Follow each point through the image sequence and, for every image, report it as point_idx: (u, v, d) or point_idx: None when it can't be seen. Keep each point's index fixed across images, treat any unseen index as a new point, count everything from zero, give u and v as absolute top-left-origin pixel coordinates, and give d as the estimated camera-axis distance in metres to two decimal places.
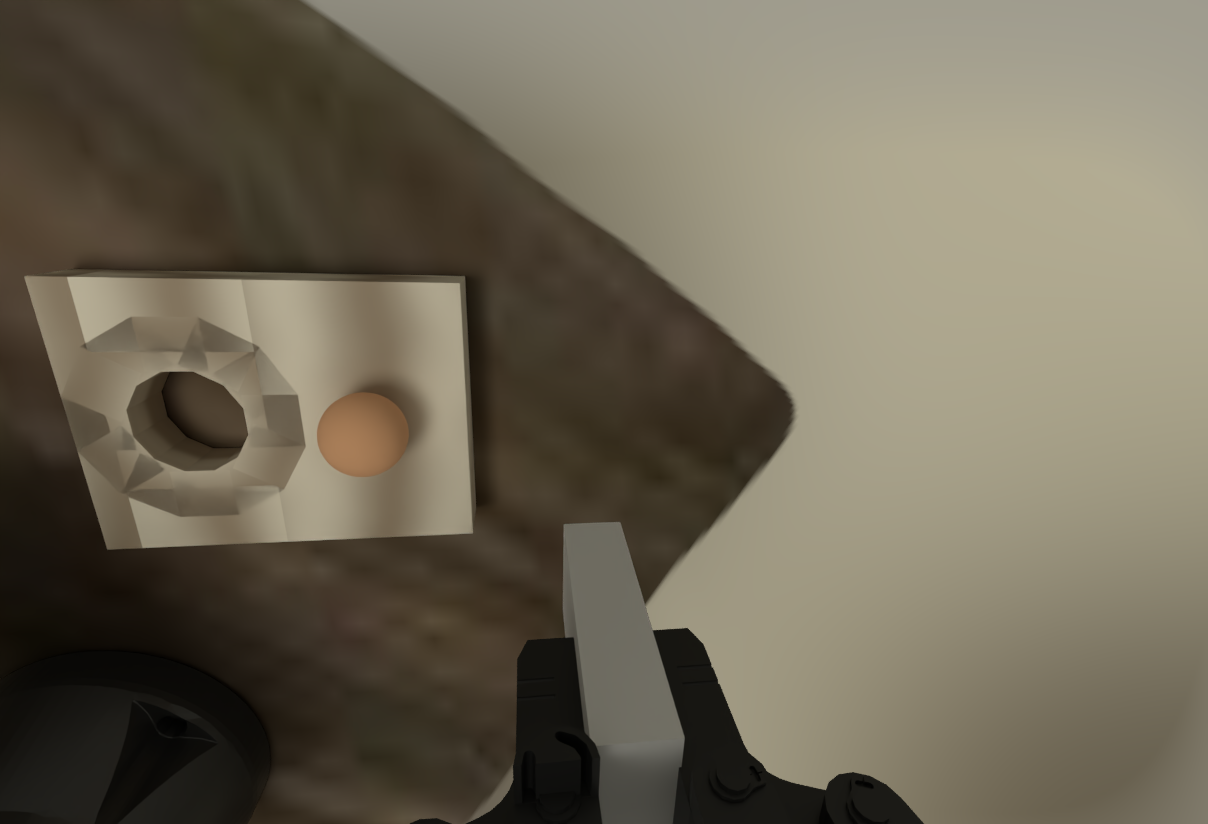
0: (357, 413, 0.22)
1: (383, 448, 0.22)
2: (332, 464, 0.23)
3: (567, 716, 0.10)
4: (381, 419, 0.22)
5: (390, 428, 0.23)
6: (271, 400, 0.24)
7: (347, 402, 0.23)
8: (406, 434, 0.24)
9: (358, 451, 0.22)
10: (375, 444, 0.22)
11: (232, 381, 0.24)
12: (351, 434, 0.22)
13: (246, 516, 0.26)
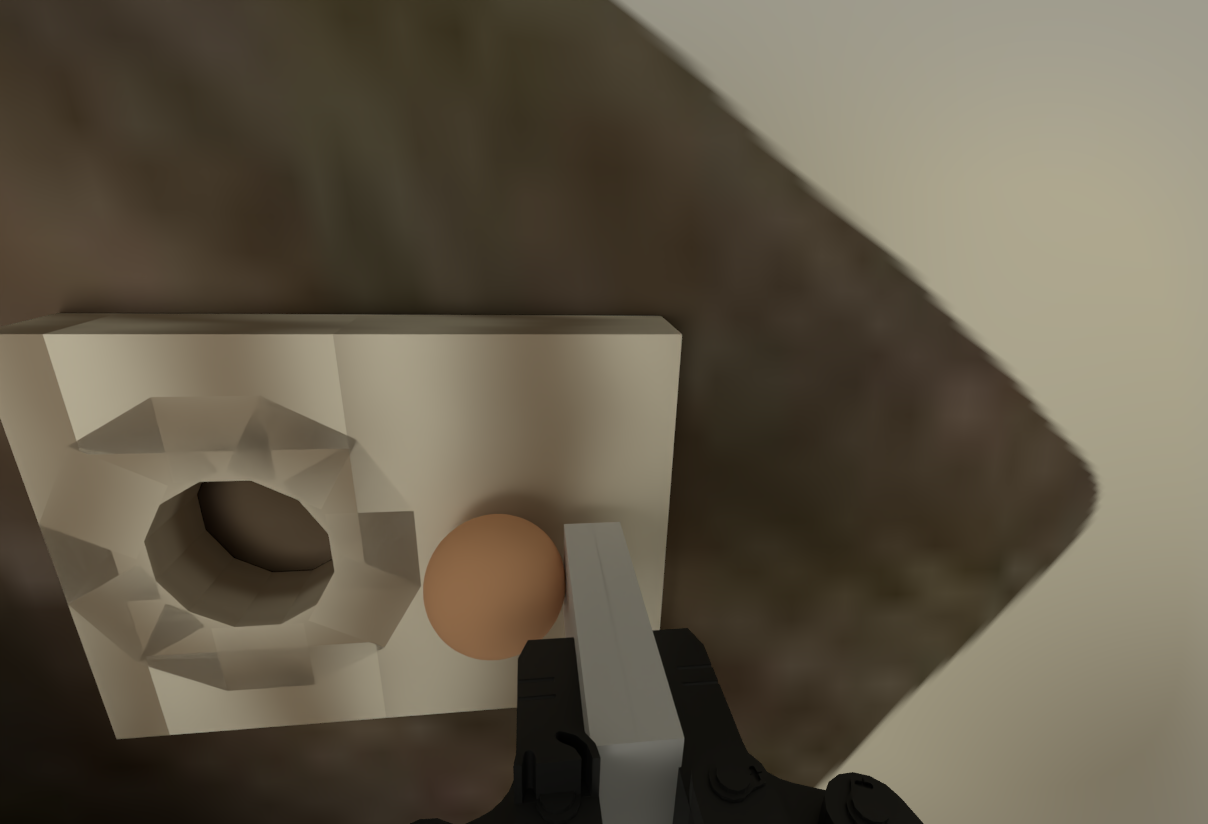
0: (478, 566, 0.13)
1: (510, 632, 0.13)
2: None
3: (567, 715, 0.10)
4: (514, 581, 0.13)
5: (527, 598, 0.13)
6: (373, 521, 0.15)
7: (470, 538, 0.13)
8: (557, 602, 0.14)
9: (468, 632, 0.13)
10: (497, 625, 0.13)
11: (313, 493, 0.15)
12: (462, 602, 0.13)
13: (326, 686, 0.17)
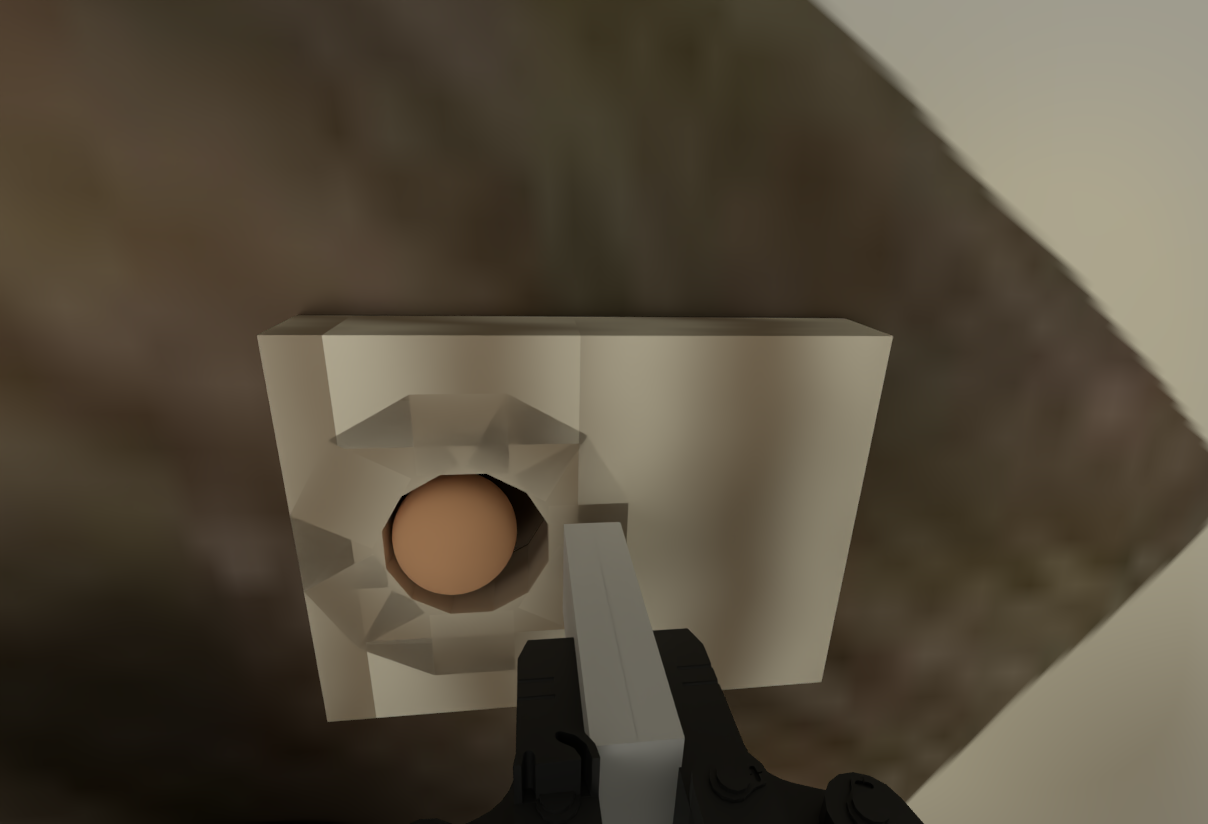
0: (484, 501, 0.16)
1: (515, 534, 0.17)
2: (458, 586, 0.15)
3: (567, 716, 0.10)
4: (503, 498, 0.16)
5: (511, 506, 0.17)
6: (590, 512, 0.16)
7: (454, 493, 0.15)
8: None
9: (502, 550, 0.16)
10: (512, 533, 0.16)
11: (540, 486, 0.16)
12: (493, 531, 0.15)
13: None
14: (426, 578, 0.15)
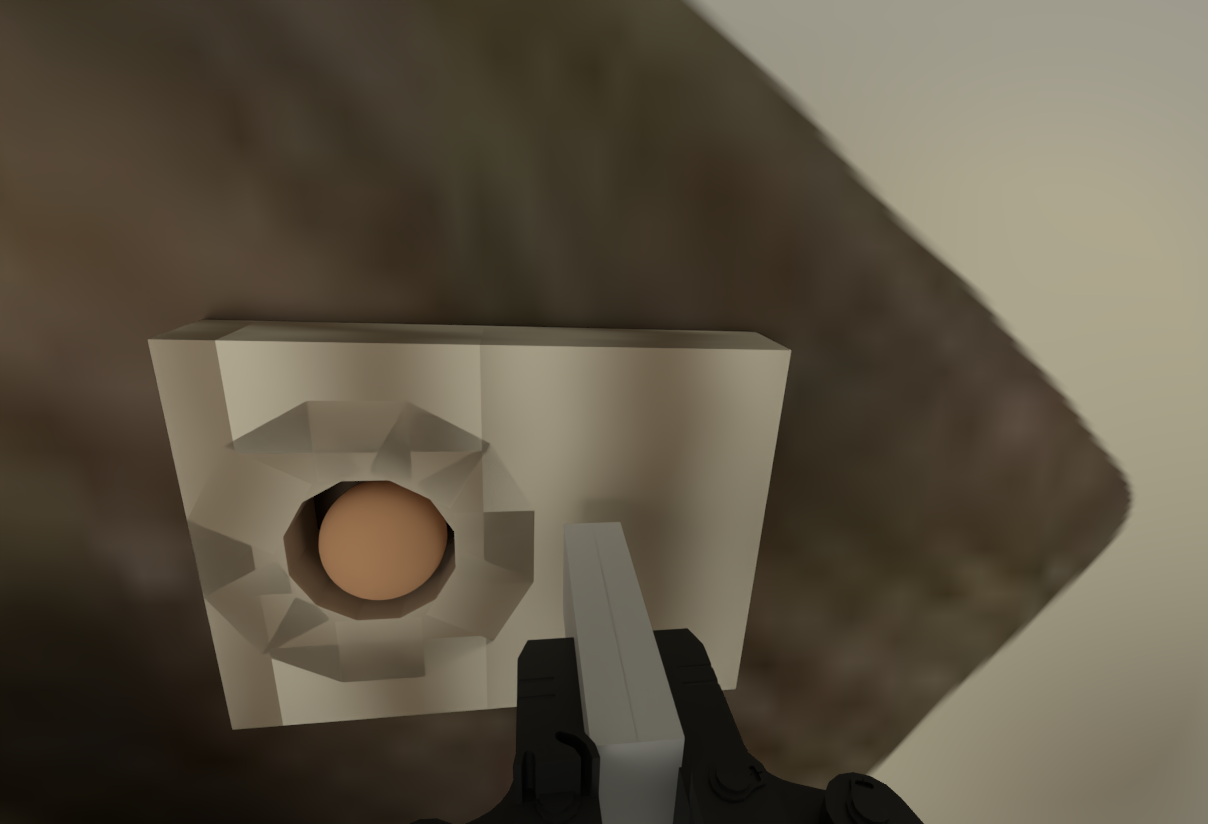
0: (419, 501, 0.16)
1: None
2: (403, 587, 0.16)
3: (567, 716, 0.10)
4: None
5: None
6: (496, 520, 0.16)
7: (389, 497, 0.16)
8: None
9: (441, 545, 0.16)
10: (446, 528, 0.17)
11: (444, 493, 0.16)
12: (432, 528, 0.16)
13: (435, 678, 0.18)
14: (371, 585, 0.15)
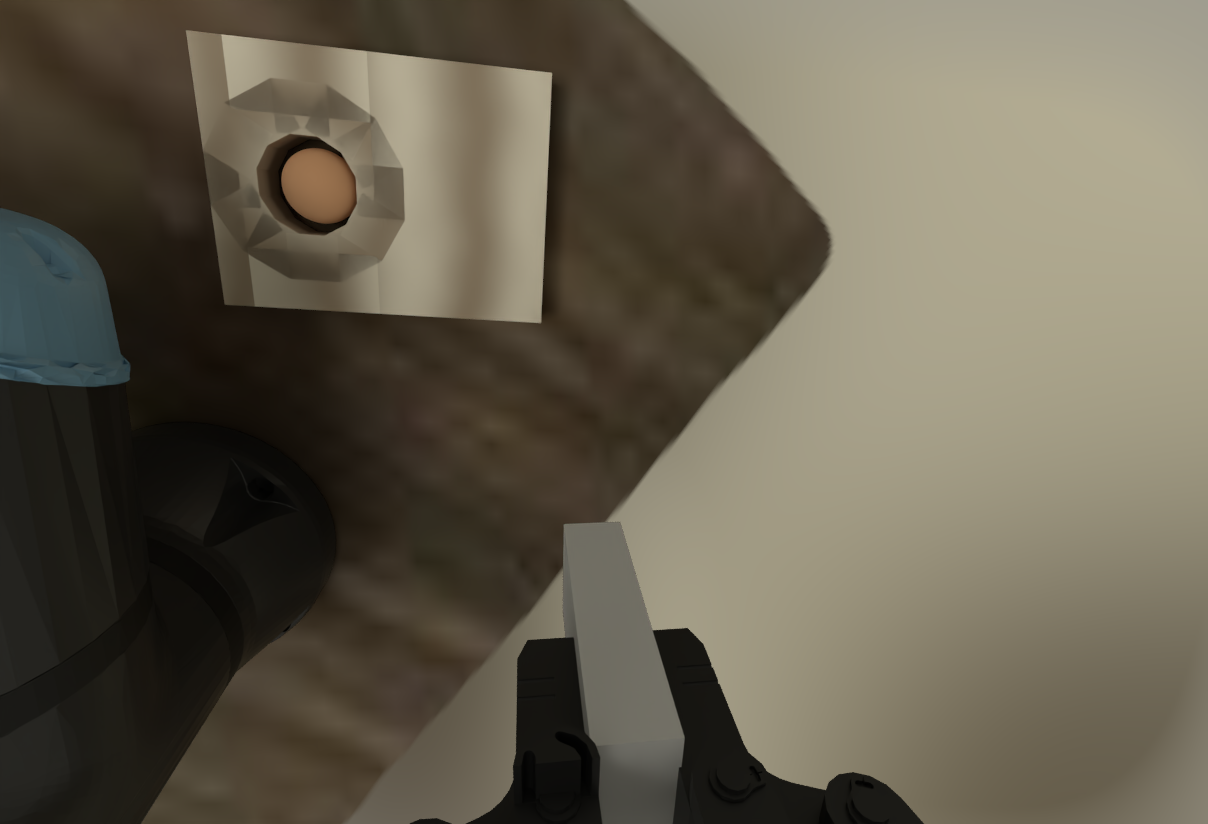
0: (342, 159, 0.28)
1: None
2: (332, 204, 0.27)
3: (567, 715, 0.10)
4: None
5: None
6: (380, 172, 0.28)
7: (324, 151, 0.27)
8: None
9: (355, 189, 0.28)
10: None
11: (349, 149, 0.27)
12: (350, 174, 0.28)
13: (346, 284, 0.29)
14: (313, 196, 0.27)
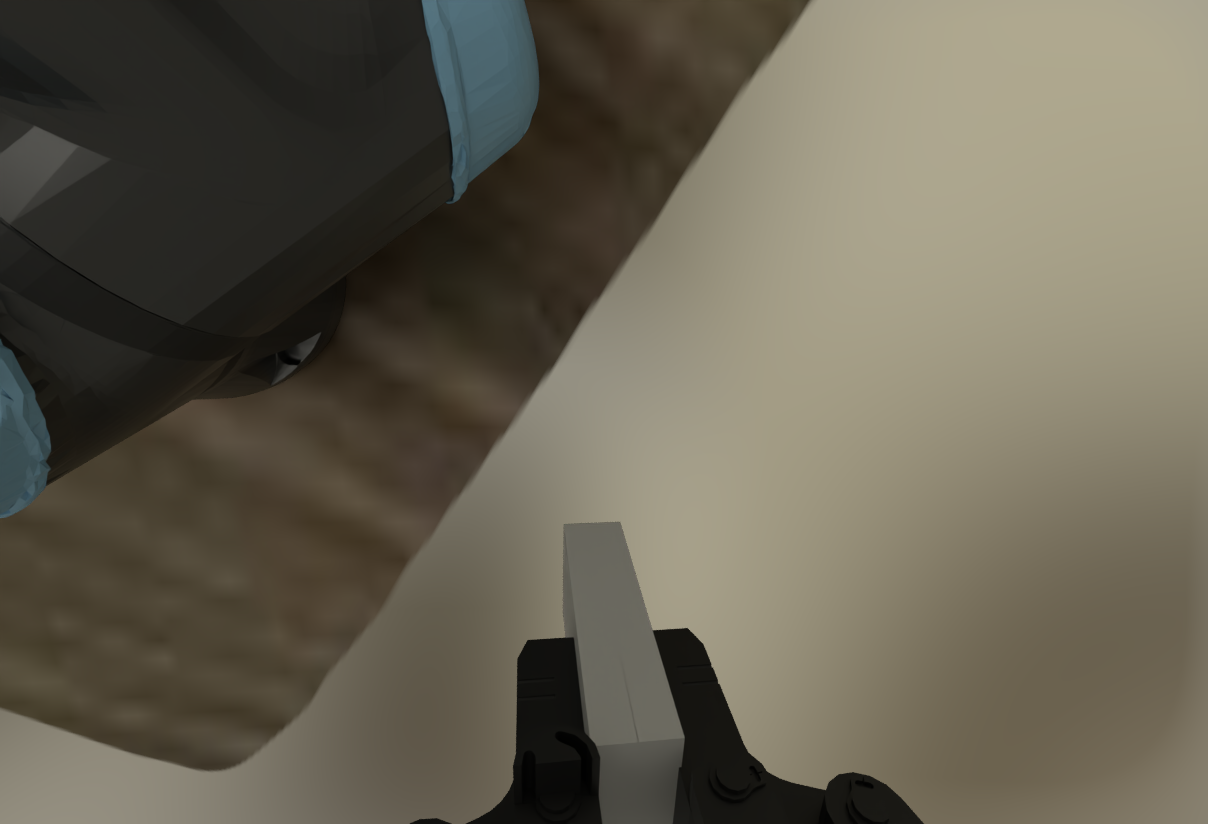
0: None
1: None
2: None
3: (567, 715, 0.10)
4: None
5: None
6: None
7: None
8: None
9: None
10: None
11: None
12: None
13: None
14: None
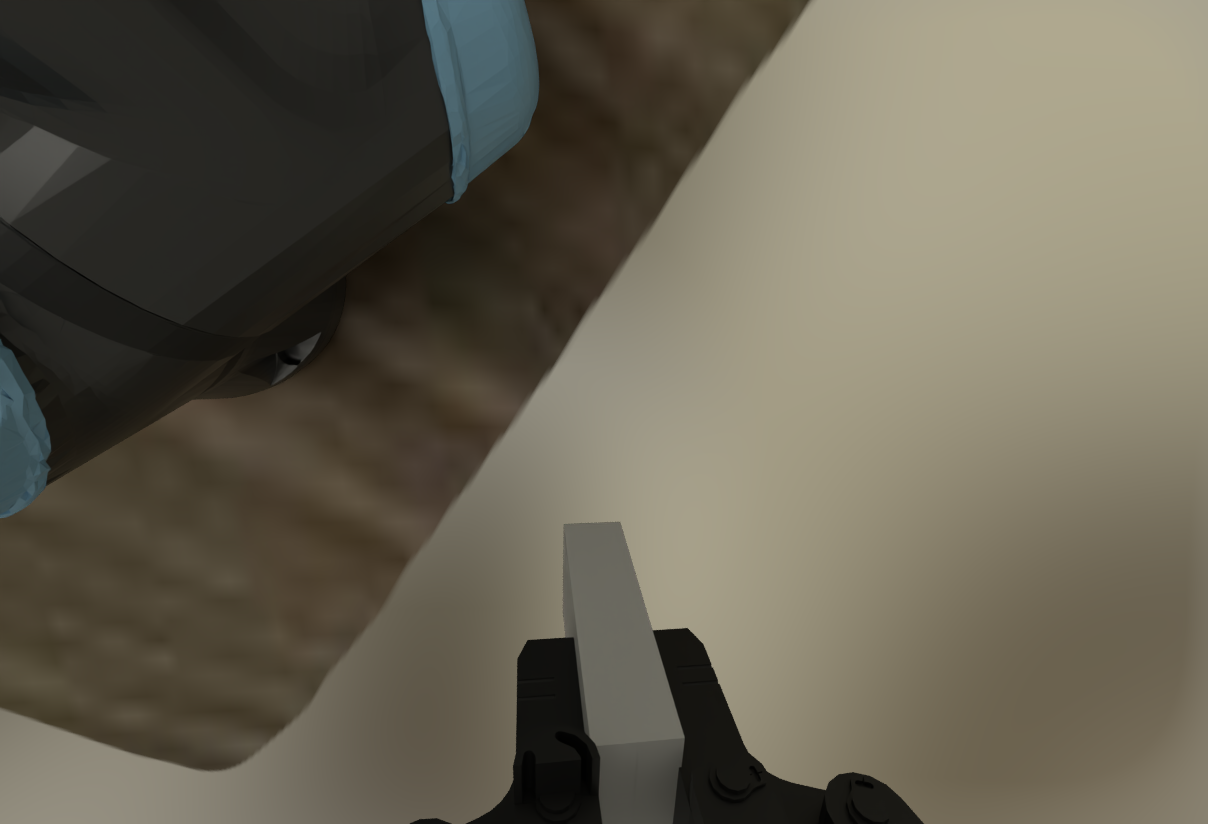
0: None
1: None
2: None
3: (567, 716, 0.10)
4: None
5: None
6: None
7: None
8: None
9: None
10: None
11: None
12: None
13: None
14: None
